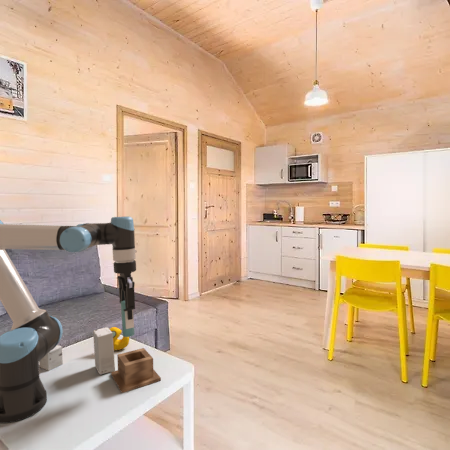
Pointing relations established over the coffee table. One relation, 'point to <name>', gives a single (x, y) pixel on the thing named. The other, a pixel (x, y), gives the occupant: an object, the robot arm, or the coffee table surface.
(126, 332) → the peg
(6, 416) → the robot arm
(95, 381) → the coffee table surface
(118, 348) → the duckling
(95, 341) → the skincare box
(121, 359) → the socket
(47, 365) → the skincare box
